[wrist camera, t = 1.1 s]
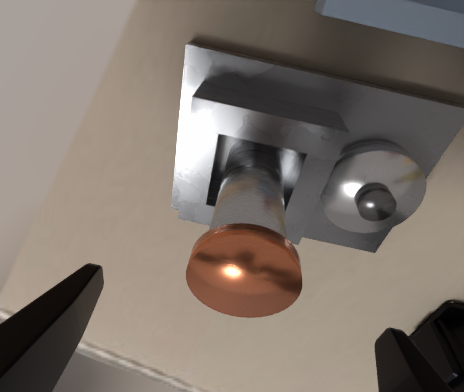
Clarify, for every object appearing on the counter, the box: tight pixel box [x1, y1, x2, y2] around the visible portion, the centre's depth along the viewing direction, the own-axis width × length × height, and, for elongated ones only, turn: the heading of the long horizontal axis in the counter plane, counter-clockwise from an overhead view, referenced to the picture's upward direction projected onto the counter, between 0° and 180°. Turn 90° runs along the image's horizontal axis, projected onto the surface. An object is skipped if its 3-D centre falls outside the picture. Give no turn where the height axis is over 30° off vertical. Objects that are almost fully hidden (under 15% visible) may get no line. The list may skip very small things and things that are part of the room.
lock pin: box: [186, 138, 302, 318], centre depth 13 cm, size 4×4×9 cm
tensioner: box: [171, 42, 464, 253], centre depth 16 cm, size 14×10×3 cm
